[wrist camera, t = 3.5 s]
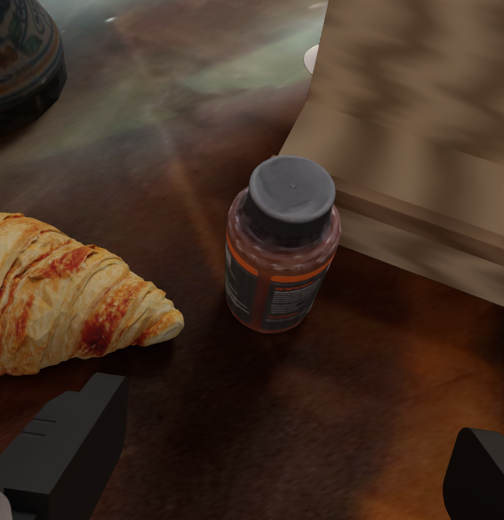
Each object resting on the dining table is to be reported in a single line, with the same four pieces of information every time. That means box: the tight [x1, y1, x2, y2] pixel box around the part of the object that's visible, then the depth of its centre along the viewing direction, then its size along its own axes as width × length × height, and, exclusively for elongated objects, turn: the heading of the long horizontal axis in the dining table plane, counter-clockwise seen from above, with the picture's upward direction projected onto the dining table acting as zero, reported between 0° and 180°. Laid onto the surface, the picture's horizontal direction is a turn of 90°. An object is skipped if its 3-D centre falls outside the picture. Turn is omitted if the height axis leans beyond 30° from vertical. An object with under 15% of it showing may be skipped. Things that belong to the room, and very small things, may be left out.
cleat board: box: [271, 0, 504, 306], centre depth 26 cm, size 24×11×16 cm, turn 68°
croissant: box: [0, 213, 184, 376], centre depth 24 cm, size 21×10×8 cm, turn 83°
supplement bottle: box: [225, 155, 341, 333], centre depth 23 cm, size 6×6×11 cm
